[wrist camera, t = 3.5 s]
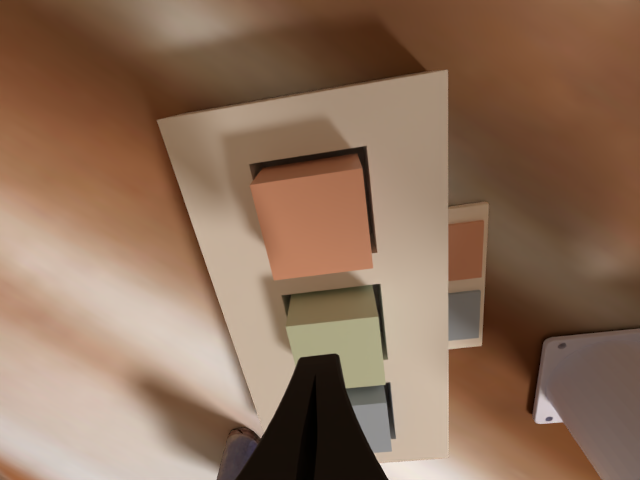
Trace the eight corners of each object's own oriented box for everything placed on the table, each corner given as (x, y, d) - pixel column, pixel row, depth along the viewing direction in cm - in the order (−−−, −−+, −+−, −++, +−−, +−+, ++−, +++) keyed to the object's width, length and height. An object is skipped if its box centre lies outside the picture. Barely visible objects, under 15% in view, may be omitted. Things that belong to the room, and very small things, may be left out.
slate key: (380, 365, 22) (386, 402, 20) (385, 412, 24) (392, 451, 22) (313, 372, 23) (311, 409, 20) (323, 417, 25) (322, 456, 22)
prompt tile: (486, 201, 19) (490, 205, 18) (479, 341, 23) (482, 348, 23) (437, 208, 19) (440, 211, 19) (439, 345, 23) (442, 351, 23)
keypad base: (427, 71, 16) (447, 69, 13) (435, 416, 26) (448, 458, 23) (185, 112, 17) (156, 120, 14) (282, 428, 27) (276, 470, 25)
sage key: (371, 283, 18) (378, 316, 16) (379, 346, 20) (385, 384, 18) (291, 293, 19) (285, 326, 16) (305, 353, 21) (302, 392, 18)
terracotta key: (357, 153, 16) (362, 168, 13) (367, 240, 17) (373, 268, 15) (262, 167, 16) (249, 185, 13) (281, 251, 18) (273, 280, 15)
